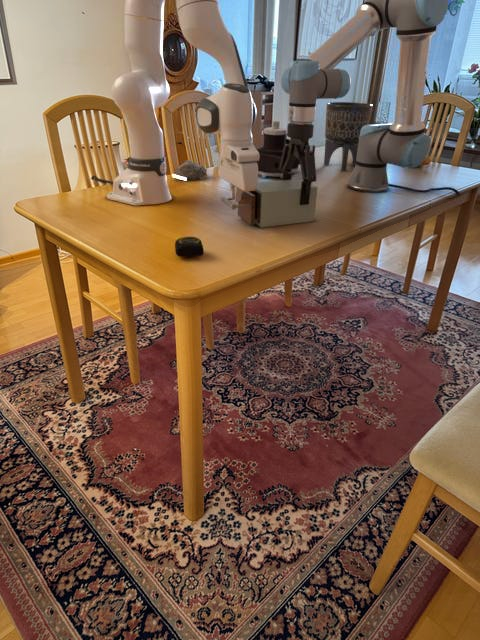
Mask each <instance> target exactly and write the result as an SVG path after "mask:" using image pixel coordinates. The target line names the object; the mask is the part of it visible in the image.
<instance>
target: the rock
mask: <svg viewBox="0 0 480 640" xmlns="http://www.w3.org/2000/svg"><path fill="white" fill-rule="evenodd" d="M175 175H177V176H181V177H185V178H186V180H182V179H179V178H175V179H176V180H180V181H187V182H189V181H196V180H197V181H198V180H200V179H201V178H204V177H205V176H206V177H208V174H207V169H206V168H205V167H204V166H203V165H201V164H199V163H196V162H193V161H191V160H188V159H185V161H184V162H183V163H181V165H180V166H178V167H177V168H176V172H175Z"/></svg>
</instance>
